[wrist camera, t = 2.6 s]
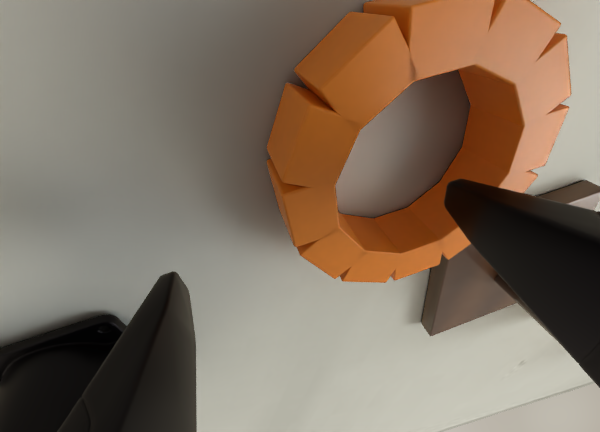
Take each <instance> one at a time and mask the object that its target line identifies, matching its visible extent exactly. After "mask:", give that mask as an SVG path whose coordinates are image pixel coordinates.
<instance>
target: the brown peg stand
mask: <svg viewBox="0 0 600 432" xmlns="http://www.w3.org/2000/svg"><path fill="white" fill-rule="evenodd" d="M538 197H541V198H545V199H549V200H553V201H557V202H561V203H565V204H570V205H574V206H578V207H582V208H586V209H590V210H594V209H595V207H596V206H597V204H598V202H599V201H600V187H599V186H597V185H595V184H593V183H591V182H589V181H587V180H584V181H581V182H579V183H576V184H573V185H570V186H567V187H564V188H561V189H558V190H555V191H552V192H549V193H547V194H544V195H541V196H538ZM515 303H518V304H519V305H520V306H521V307H522V308H523V309H524V310H525V311H526V312H527V313H528V314H530V315H531V316H532V317H533V318H534V319H535V320H536V321H537V322H538V323H539V324H540V325H541V326H542V327H543V328H544V329H545V330H546V331H547V332H548V333H549V334H550V335H551V336H553V335H552V334H551V332H550V331H549V330H548V329H547V328H546V327H545V326H544V325H543V324H542V322H541V321H540V320H539V319H538V318H537V317H536V316H535V315H534V313H533V312H532V311H531V310H530V309H529V308H528V307H527V306H526V305H525V303H524V302H523V301H522V300H521V299H520V298H519V297H518V296H517V294H516V293H515V292H514V291H513V290H512V289H511V288H510V287H509V286H508V284H507V283H506V282H505V281H504V280H503V279H502V278H501V277H500V275H499V274H498V273H497V272H496V271H495V270H494V269H493V268H492V267H491V265H490V264H489V263H488V262H487V261H486V260H485V259H484V258H483V256H482V255H481V254H480V253H479V252H478V251H477V250H476V249H475V247H474V246H473V245H472V244H470V245H468V246H467V247H466V248H464V249H463V250H461V251H460V252H459V253H457V254H456V255H454V256H453V257H452V258H450V259H449V260H448V259H446V258H445V257H444V256H443V254H442V255H441V260H440V264H439V265H437V266H434V267H431V273H430V278H429V284H428V289H427V295H426V300H425V306H424V311H423V317H422V322H421V323H422V325H423V326H424V328H425V329H426V331H427V332H428V334H429V335H430V336H433V335H435V334H438V333H440V332H443V331H446V330H448V329H451V328H453V327H456V326H458V325H461V324H464V323H466V322H469V321H471V320H474V319H477V318H479V317H482V316H484V315H487V314H489V313H492V312H495V311H497V310H500V309H502V308H505V307H507V306H510V305H513V304H515ZM553 337H554V336H553ZM554 338H555V337H554ZM555 339H556V338H555ZM556 340H557V339H556ZM557 341H558V340H557ZM558 342H559V341H558Z"/></svg>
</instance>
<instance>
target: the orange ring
mask: <svg viewBox="0 0 600 432" xmlns="http://www.w3.org/2000/svg"><path fill="white" fill-rule="evenodd" d="M363 12H364V13H359V12H349V13H348V14H347V15H346V16H345V17H344V18H343V19H342V20H341V21H340V22H339V23H338V24H337V25H336V26H335V27H334V28H333V29H332V30H331V31H330V32H329V33H328V35H327V36H326V37H325V38H324V39H323V40H322V41H321V42H320V43H319V44H318V45H317V46H316V47H315V48H314V49H313V50H312V51H311V52H310V53H309V54H308V55H307V56H306V57H305V58H304V59H303V60H302V61H301V62H300V63H299V64H298V65H297V66H296V67H295V69H294V71H295V73H296V74H297V75H298V77H299V78H300V79H301V80H302V82H303V83H304V84H305V86H306V87H307V88H308V89H306V88H303V87H300V86H297V85H294V84H291V83H286V84H285V87H284V91H283V94H282V97H281V101H280V104H279V108H278V111H277V114H276V118H275V121H274V124H273V128H272V131H271V135H270V138H269V141H268V145H267V150H268V153H269V155H270V157H271V159H268V160H267V166H268V170H269V173H270V177H271V181H272V184H273V188H274V192H275V195H276V199H277V203H278V206H279V209H280V212H281V214H282V217H283V219H284V222H285V225H286V227H287V230H288V232H289V235H290V237H291V240H292V242H293V245H294V246H295V247H297V249H298V251H299V254H300V255H301V256H302V257H304V258H305V259H306V260H308V261H309V262H311V263H312V264H314V265H315V266H317V267H318V268H320V269H321V270H322V271H324V272H325V273H327V274H328V275H330V276H331V277H333V278H334V279H336V278H337V277H338V276H340V277H341V279H342V281H350V282H384V283H385V282H387V280H388V279H389V277H390V276H391V277H392V278H393V279H394V280H398V279H401V278H403V277H406V276H409V275H412V274H415V273H417V272H420V271H423V270H426V269H428V268H431V267H434V266H437V265H439V264H440V260H441V255H442V254H443V256H444V257H445V258H446V259H448V260H449V259H450V258H452V257H453V256H454V255H456V254H457V253H459V252H460V251H461V250H463V249H464V248H466V247H467V246H468V245H470V244H471V243H470V241H469V240H468V239H467V237H466V236H465V235H464V233H463V232H462V231H461V229H460V228H459V226H458V225H457V224H456V222H455V221H454V219H453V218H452V217H451V215H450V214H449V212H448V211H447V210H446V208H445V205H444V198H445V193H446V187H447V184H448V183H449V182H451V181H453V180H457V179H466V180H470V181H474V182H478V183H483V184H487V185H491V186H495V187H499V188H503V189H507V190H512V191H516V192H520V193H524V192H525V191H526V190H527V188H528V187H529V186H530V185H531V184H532V182H533V181H534V180H535V179H536V178H537V176H538V175H537V174H536V173H534V172H532V171H530V170H533V169H536V168H539V167H542V166H544V165H545V164H546V162H547V159H548V157H549V155H550V152H551V150H552V147H553V145H554V143H555V140H556V138H557V135H558V133H559V131H560V128H561V126H562V124H563V121H564V119H565V116H566V114H567V112H568V109H569V107H568V106H565V105H562V104H560V103H562V102H563V101H564V100H566V99H567V98H568V97H569V96H570V95H571V84H570V71H569V58H568V45H567V36H566V35H565V34H559V33H556V31H557V30H558V29H559V27H560V25H561V23H560V22H559V21H557V20H556V19H555V18H553V17H552V16H550V15H549V14H548V13H546V12H545V11H544V10H542V9H541V8H539V7H538V6H537V5H535V4H534V3H533V2H531V1H530V0H374V1H370V2H365V3H364V5H363ZM454 70H458V71H459V74H460V77H461V79H462V82H463V85H464V88H465V90H466V93H467V96H468V99H469V101H470V104H471V106H470V111H469V116H468V121H467V125H466V130H465V135H464V140H463V145H462V148H461V150H460V151H459V153H458V154H457V156H456V157H455V159H454V160H453V162H452V163H451V165H450V166H449V168H448V169H447V171H446V172H445V174H444V176H443V177H442V179H441V180H440V182H439V183H438V184H436V185H435V186H434V187H433V188H431V189H430V190H429V191H427V192H426V193H425V194H424V195H422V196H421V197H420V198H419V199H417V200H416V201H415V202H414V203H412V204H411V205H410V206H409V207H407V208H404V209H401V210H398V211H395V212H392V213H389V214H386V215H383V216H380V217H377V218H374V219H373V218H366V217H359V216H352V215H345V214H341V213H340V212H339V211H338V207H337V197H336V188H335V185H336V182H337V180H338V178H339V176H340V174H341V171H342V169H343V167H344V165H345V162H346V160H347V158H348V156H349V154H350V151H351V149H352V147H353V145H354V143H355V140H356V138H357V136H358V134H359V132H360V130H361V129H362V128H363V127H364V126H365V125H366V124H367V123H368V122H370V121H371V120H372V119H373V118H374V117H375V116H376V115H377V114H378V113H380V112H381V111H382V110H383V109H384V108H385V107H386V106H387V105H388V104H390V103H391V102H392V101H393V100H394V99H395V98H396V97H397V96H398V95H400V94H401V93H402V92H403V91H404V90H405V89H406V88H407V87H408V86H410V85H411V84H412V83H413V82H414V81H418V80H422V79H425V78H429V77H432V76H436V75H440V74H443V73H447V72H451V71H454Z"/></svg>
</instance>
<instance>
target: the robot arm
mask: <svg viewBox="0 0 600 432" xmlns="http://www.w3.org/2000/svg"><path fill="white" fill-rule="evenodd" d="M444 205H445V208H446V210H447V211H448V212H449V214H450V215H451V217H452V218H453V219H454V221H455V222H456V224H457V225H458V226H459V228H460V229H461V231H462V232H463V233H464V235H465V236H466V237H467V239H468V240H469V241H470V243H471V244H472V245H473V246H474V247H475V249H476V250H477V251H478V252H479V253H480V254H481V255H482V256H483V258H484V259H485V260H486V261H487V262H488V263H489V264H490V265H491V267H492V268H493V269H494V270H495V271H496V272H497V273H498V274H499V275H500V277H501V278H502V279H503V280H504V281H505V282H506V283H507V284H508V286H509V287H510V288H511V289H512V290H513V291H514V292H515V293H516V294H517V296H518V297H519V298H520V299H521V300H522V301H523V302H524V303H525V305H526V306H527V307H528V308H529V309H530V310H531V311H532V312H533V313H534V315H535V316H536V317H537V318H538V319H539V320H540V321H541V322H542V324H543V325H544V326H545V327H546V328H547V329H548V330H549V331H550V332H551V334H552V335H553V336H554V337H555V338H556V339H557V340H558V341H559V343H560V344H561V345H562V346H563V347H564V348H565V349H566V350H567V351H568V353H569V354H570V355H571V356H572V357H573V358H574V359H575V360H576V362H577V363H579V365H580V366H581V367H582V369H583V370H584V371H585V372H586V373H587V374H588V375H589V376H590V377H591V379H592V380H593V381H594V382H595V383H596V384H597V385H598V386H599V387H600V212H596V211H594V210H590V209H586V208H582V207H578V206H574V205H570V204H565V203H561V202H557V201H553V200H549V199H545V198H541V197H536V196H532V195H528V194H524V193H520V192H516V191H512V190H507V189H503V188H499V187H495V186H491V185H487V184H483V183H478V182H474V181H470V180H466V179H457V180H453V181H451V182H449V183H448V184H447V187H446V193H445V198H444ZM0 432H196V342H195V332H194V325H193V317H192V309H191V302H190V295H189V291H188V288H187V287H186V285H185V284H184V282H183V281H182V279H181V278H180V276H179V275H178V273H176V272H170V273H167V274H164V275H162V276H160V277H159V279H158V280H157V282H156V283H155V285H154V286H153V288H152V289H151V291H150V293H149V294H148V296H147V297H146V299H145V300H144V302H143V303H142V305H141V306H140V308H139V309H138V311H137V312H136V314H135V315H134V317H133V318H132V320H131V321H130V323H129V324H128V326H126V325H125V324H124V323H122V322H121V321H120V320H119V319H118V318H117V317H115V316H113V315H100V316H97V317H94V318H91V319H88V320H85V321H82V322H79V323H76V324H73V325H70V326H67V327H64V328H61V329H58V330H55V331H52V332H49V333H46V334H43V335H40V336H37V337H34V338H31V339H28V340H25V341H22V342H19V343H16V344H13V345H10V346H7V347H3V348H0Z"/></svg>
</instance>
